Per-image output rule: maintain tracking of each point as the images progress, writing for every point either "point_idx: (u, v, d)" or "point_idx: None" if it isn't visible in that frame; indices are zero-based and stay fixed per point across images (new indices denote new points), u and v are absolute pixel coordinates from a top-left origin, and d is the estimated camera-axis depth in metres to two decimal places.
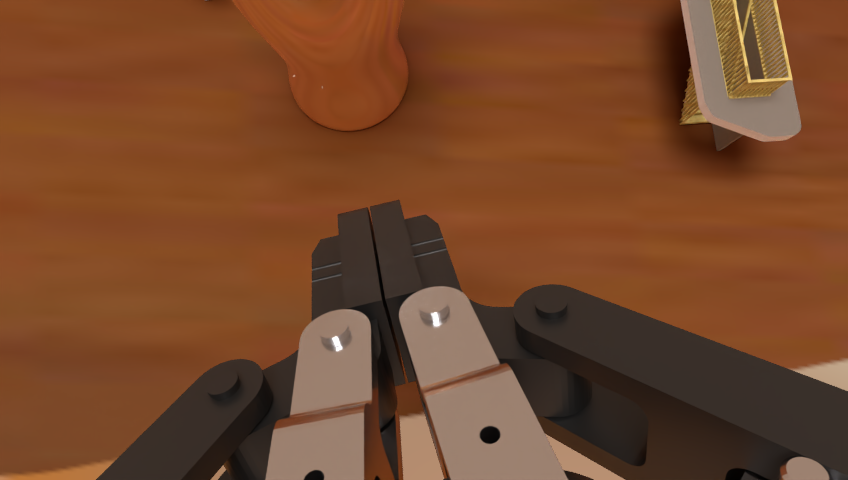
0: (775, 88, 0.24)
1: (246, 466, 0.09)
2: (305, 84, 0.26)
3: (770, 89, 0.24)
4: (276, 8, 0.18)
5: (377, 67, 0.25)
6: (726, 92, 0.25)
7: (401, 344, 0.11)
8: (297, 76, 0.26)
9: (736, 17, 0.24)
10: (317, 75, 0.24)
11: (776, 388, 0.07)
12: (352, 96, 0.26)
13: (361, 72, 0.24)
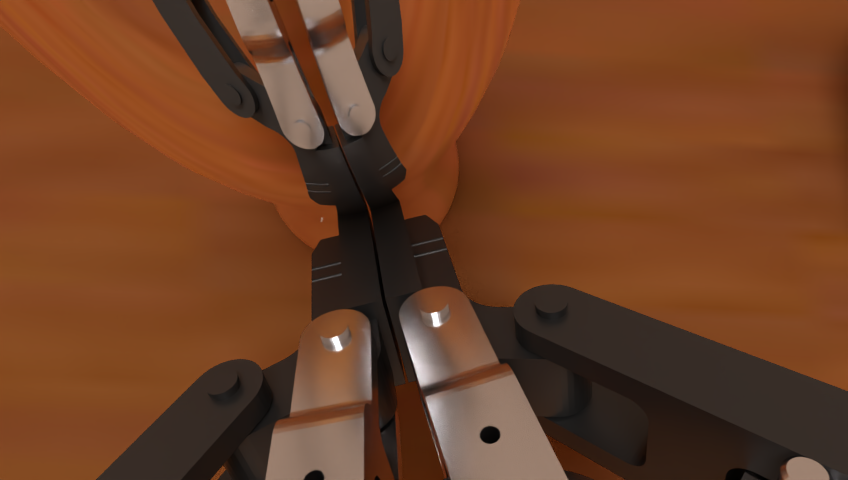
0: None
1: (246, 466, 0.09)
2: (292, 209, 0.15)
3: None
4: (201, 152, 0.07)
5: (421, 187, 0.14)
6: None
7: (401, 344, 0.11)
8: None
9: None
10: (312, 213, 0.13)
11: (775, 388, 0.07)
12: None
13: None
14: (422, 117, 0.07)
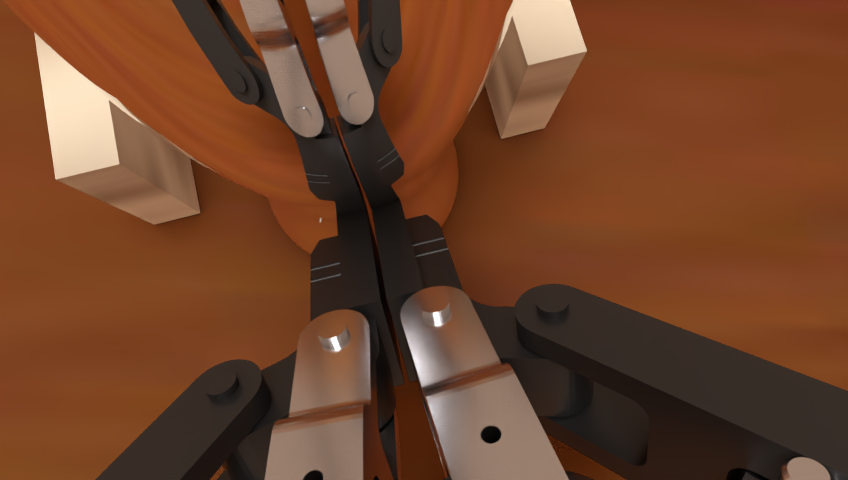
0: None
1: (245, 466, 0.09)
2: (290, 211, 0.15)
3: None
4: (198, 127, 0.07)
5: (421, 186, 0.14)
6: None
7: (402, 344, 0.11)
8: None
9: None
10: (311, 211, 0.12)
11: (777, 389, 0.07)
12: (373, 228, 0.15)
13: (393, 201, 0.13)
14: (424, 92, 0.07)
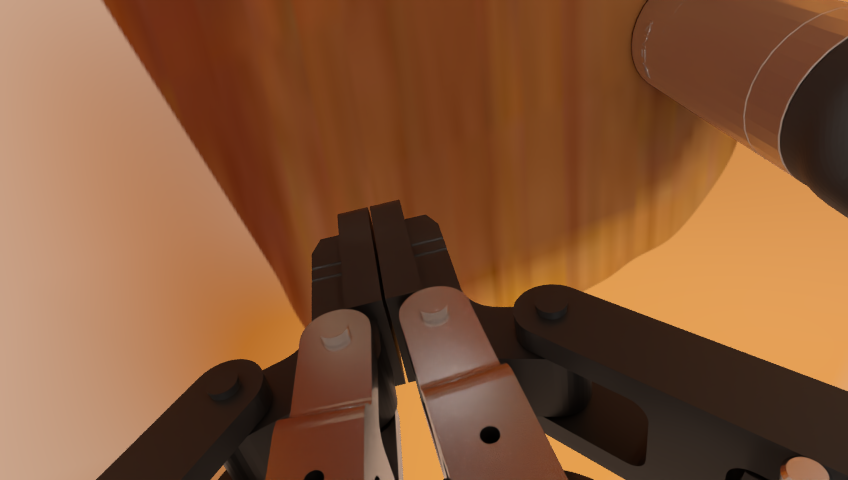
0: None
1: (246, 466, 0.09)
2: None
3: None
4: None
5: None
6: None
7: (401, 344, 0.11)
8: None
9: None
10: None
11: (775, 388, 0.07)
12: None
13: None
14: None
